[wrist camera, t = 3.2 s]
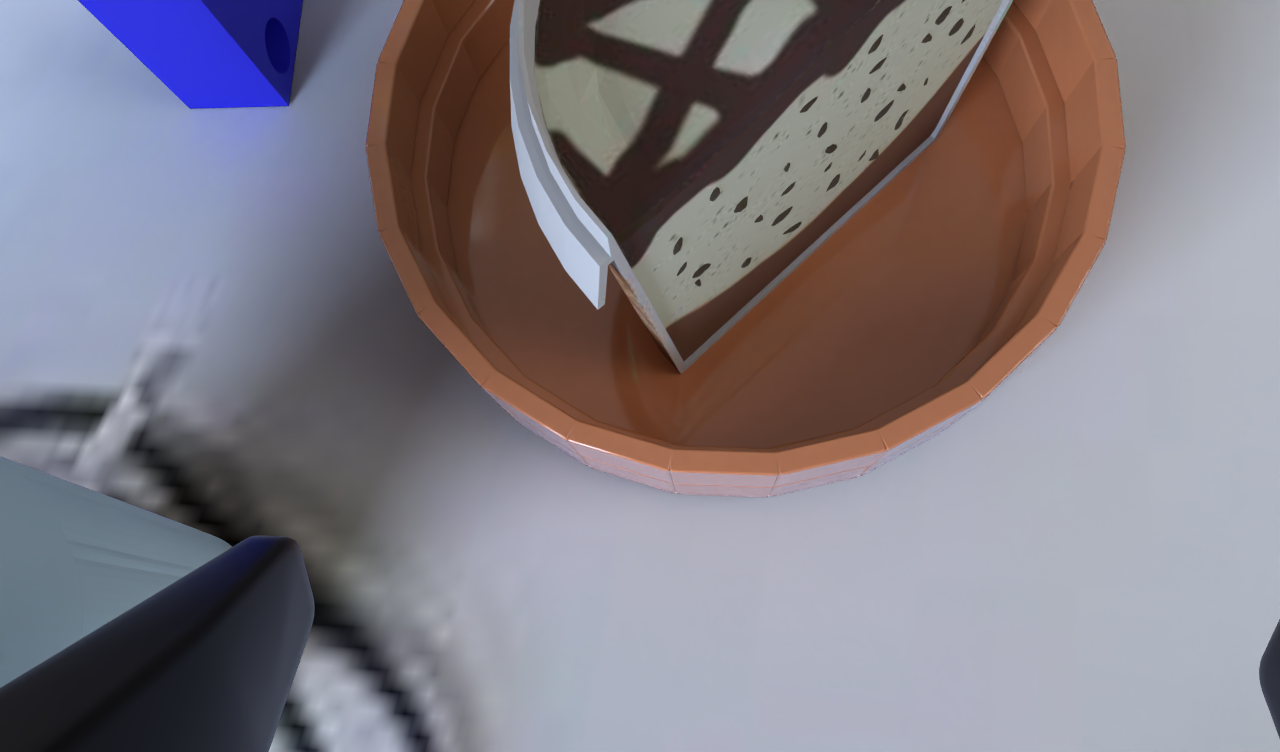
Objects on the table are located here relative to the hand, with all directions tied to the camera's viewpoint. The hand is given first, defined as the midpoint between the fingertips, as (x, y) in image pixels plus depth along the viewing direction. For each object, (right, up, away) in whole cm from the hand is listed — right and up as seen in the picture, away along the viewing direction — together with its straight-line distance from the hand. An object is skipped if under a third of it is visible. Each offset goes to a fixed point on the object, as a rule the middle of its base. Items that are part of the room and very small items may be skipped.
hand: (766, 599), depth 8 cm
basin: (+1, +7, +16) cm, 17 cm away
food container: (+1, +7, +16) cm, 17 cm away
